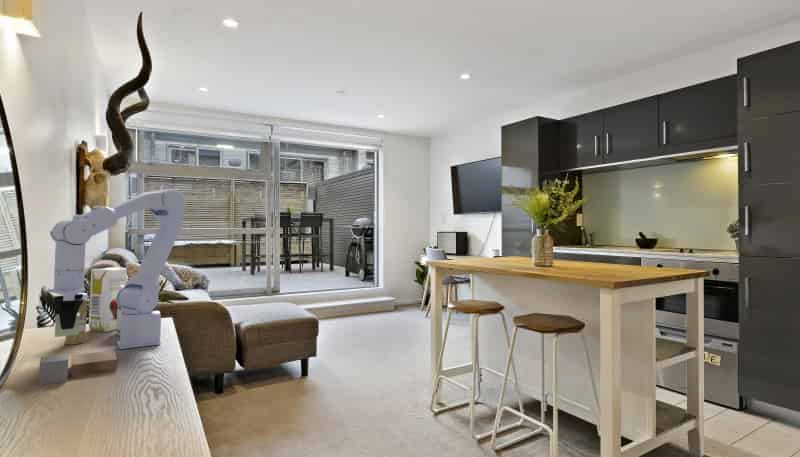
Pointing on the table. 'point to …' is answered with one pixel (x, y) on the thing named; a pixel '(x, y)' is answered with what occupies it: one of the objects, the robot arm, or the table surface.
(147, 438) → the table surface
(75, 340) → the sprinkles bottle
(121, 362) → the table surface
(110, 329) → the juice carton
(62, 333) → the sage block
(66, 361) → the grey block
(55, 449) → the table surface
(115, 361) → the walnut block
